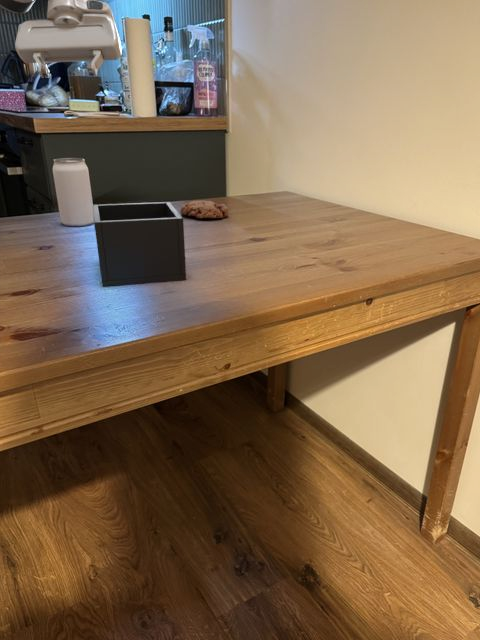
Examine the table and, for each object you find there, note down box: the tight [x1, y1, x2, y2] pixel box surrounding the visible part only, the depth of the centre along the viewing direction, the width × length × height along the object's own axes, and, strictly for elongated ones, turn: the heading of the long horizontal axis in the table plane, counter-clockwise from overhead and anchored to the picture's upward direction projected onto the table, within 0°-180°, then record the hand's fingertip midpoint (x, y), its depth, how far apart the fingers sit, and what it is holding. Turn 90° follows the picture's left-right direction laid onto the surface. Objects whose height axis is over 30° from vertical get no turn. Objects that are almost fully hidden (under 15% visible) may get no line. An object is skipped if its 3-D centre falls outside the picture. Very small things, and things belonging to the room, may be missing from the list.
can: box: [52, 157, 94, 228], centre depth 97 cm, size 6×6×12 cm
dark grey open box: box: [92, 201, 187, 287], centre depth 73 cm, size 12×12×9 cm
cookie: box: [179, 199, 229, 219], centre depth 108 cm, size 10×11×3 cm
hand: (67, 74), depth 98 cm, fingers open, 8 cm apart
